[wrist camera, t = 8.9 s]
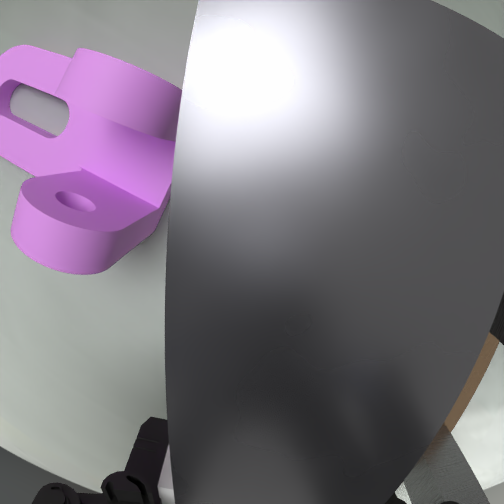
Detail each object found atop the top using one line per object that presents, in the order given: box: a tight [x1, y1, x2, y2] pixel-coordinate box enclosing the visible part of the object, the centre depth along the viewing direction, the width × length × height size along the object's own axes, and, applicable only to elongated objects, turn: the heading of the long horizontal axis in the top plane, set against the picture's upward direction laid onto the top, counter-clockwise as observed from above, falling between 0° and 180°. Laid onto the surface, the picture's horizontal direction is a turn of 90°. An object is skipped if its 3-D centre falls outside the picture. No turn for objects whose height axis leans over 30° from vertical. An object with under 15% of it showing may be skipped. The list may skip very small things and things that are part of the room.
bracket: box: [0, 45, 182, 275], centre depth 9 cm, size 13×6×7 cm, turn 62°
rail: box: [165, 0, 504, 504], centre depth 8 cm, size 4×22×6 cm, turn 173°
